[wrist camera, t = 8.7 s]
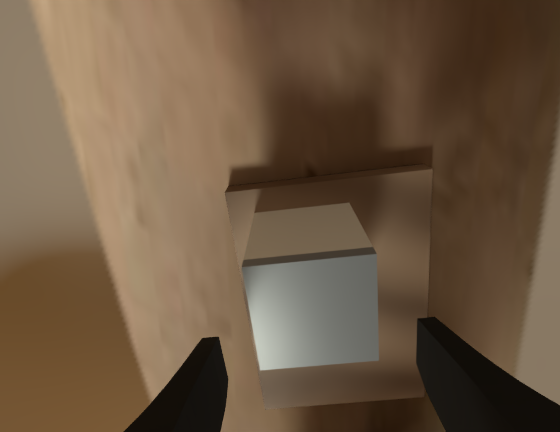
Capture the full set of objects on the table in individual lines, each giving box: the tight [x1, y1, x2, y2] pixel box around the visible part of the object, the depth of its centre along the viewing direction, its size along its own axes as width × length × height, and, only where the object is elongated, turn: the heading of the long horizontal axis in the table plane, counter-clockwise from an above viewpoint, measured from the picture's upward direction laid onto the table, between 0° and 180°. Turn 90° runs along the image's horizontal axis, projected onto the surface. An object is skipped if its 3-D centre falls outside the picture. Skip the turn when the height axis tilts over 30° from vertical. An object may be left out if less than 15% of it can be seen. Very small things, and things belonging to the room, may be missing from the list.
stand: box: [225, 164, 433, 410], centre depth 20 cm, size 16×11×5 cm
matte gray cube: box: [242, 203, 379, 370], centre depth 17 cm, size 5×5×6 cm
